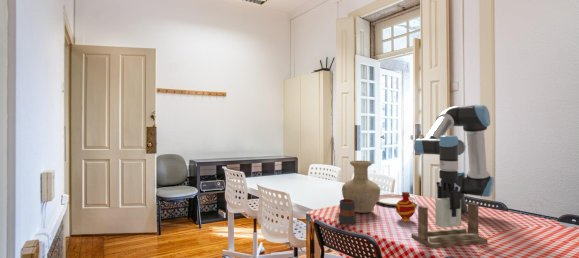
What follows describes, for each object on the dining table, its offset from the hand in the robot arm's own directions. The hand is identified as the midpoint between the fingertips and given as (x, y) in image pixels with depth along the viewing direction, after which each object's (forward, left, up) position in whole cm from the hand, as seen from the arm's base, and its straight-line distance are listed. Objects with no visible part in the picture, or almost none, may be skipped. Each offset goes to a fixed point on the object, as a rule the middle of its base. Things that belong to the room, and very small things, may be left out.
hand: (448, 222), depth 145 cm
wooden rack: (0, 0, -8) cm, 8 cm away
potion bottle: (+1, -32, -8) cm, 33 cm away
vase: (+17, -54, -8) cm, 57 cm away
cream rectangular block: (0, 0, -2) cm, 2 cm away
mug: (+33, -36, -8) cm, 49 cm away
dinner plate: (-15, -70, -8) cm, 72 cm away
